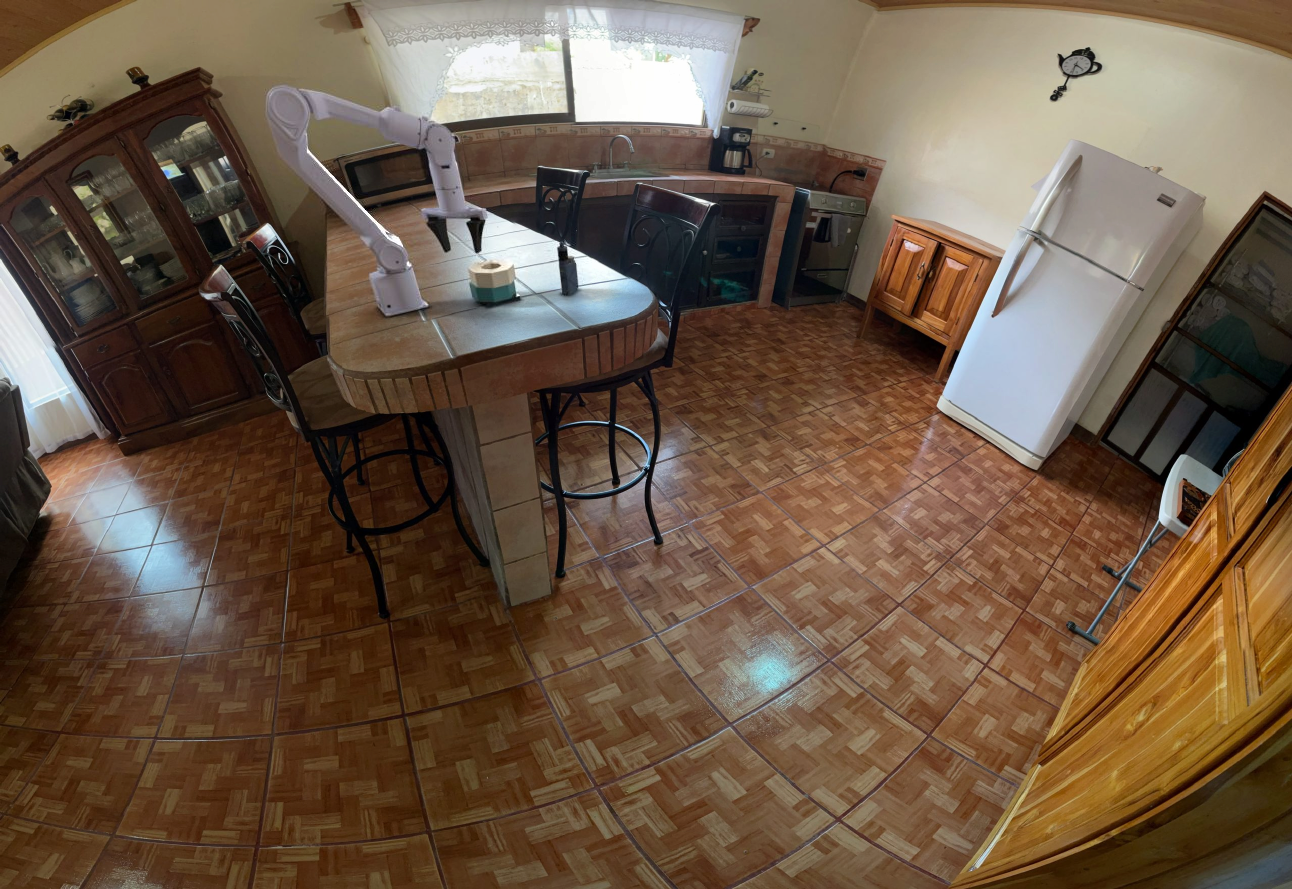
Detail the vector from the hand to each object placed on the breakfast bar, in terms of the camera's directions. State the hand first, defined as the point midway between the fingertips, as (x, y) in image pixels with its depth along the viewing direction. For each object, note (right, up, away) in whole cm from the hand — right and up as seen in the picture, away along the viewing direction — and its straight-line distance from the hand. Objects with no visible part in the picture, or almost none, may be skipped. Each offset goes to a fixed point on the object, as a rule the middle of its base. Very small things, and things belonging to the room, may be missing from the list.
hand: (463, 251), depth 118 cm
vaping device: (+24, -8, +7) cm, 26 cm away
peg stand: (+7, -10, +4) cm, 13 cm away
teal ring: (+6, -9, +3) cm, 12 cm away
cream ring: (+7, -6, +1) cm, 9 cm away
